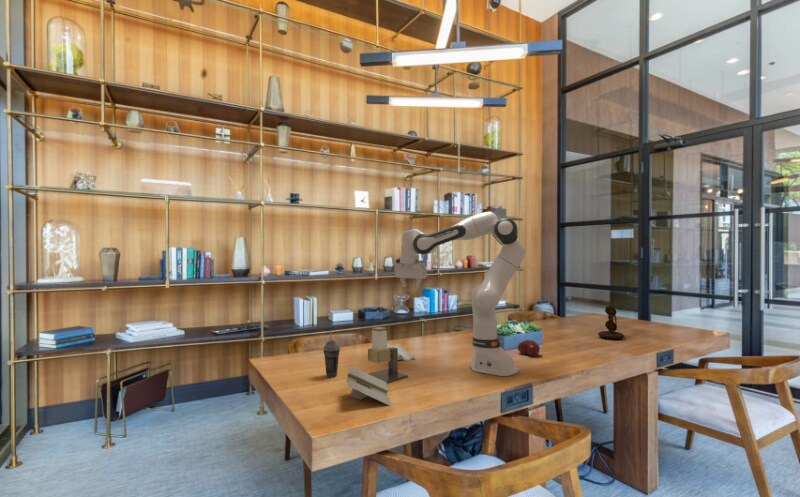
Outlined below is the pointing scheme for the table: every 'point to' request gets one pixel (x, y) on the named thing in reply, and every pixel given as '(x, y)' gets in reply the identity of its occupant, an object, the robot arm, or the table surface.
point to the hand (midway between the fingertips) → (410, 287)
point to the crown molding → (402, 353)
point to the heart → (529, 347)
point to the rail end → (379, 338)
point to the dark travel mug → (331, 358)
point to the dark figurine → (611, 325)
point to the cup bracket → (392, 358)
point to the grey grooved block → (367, 386)
